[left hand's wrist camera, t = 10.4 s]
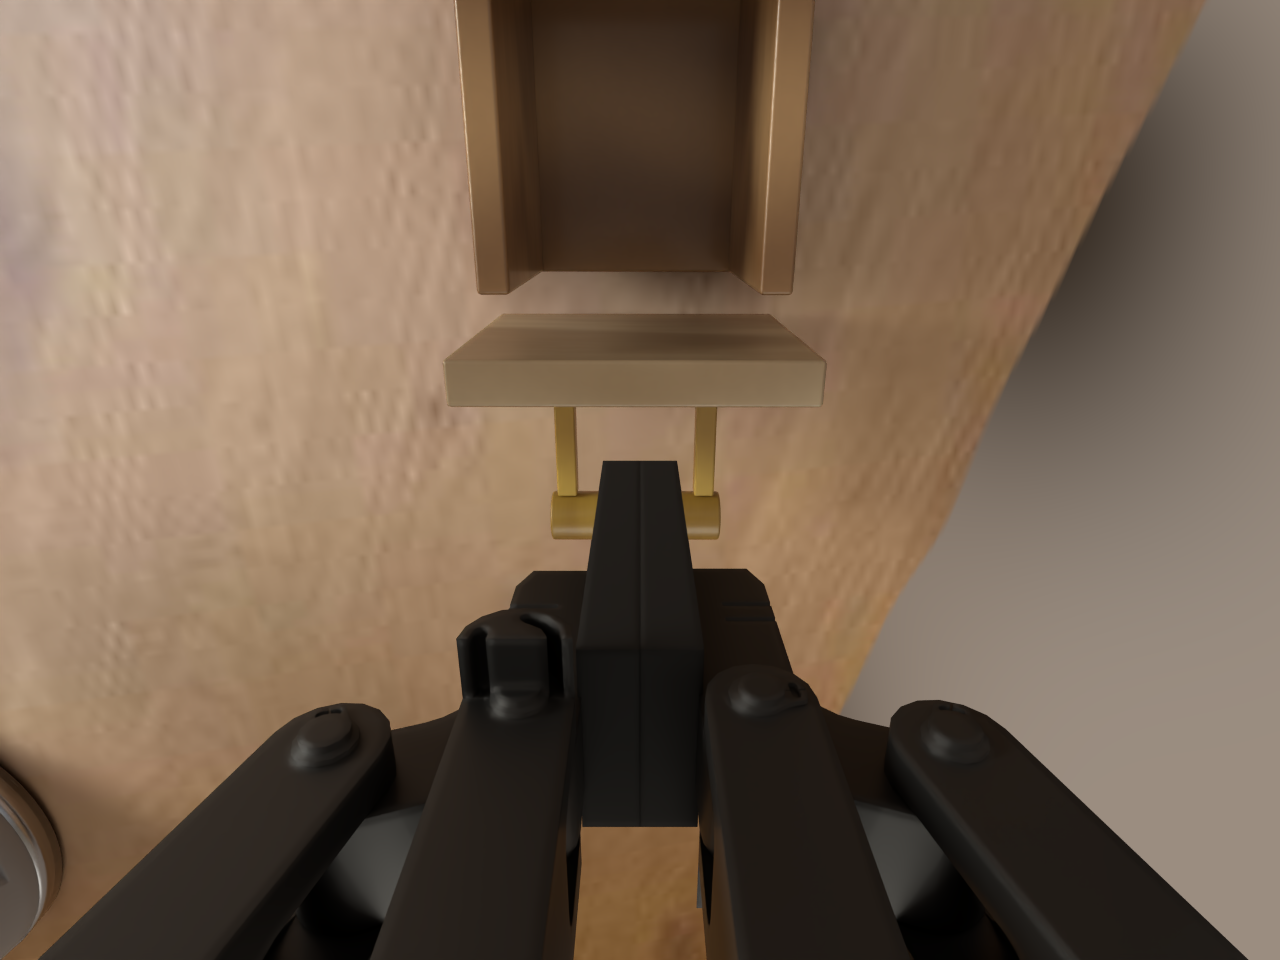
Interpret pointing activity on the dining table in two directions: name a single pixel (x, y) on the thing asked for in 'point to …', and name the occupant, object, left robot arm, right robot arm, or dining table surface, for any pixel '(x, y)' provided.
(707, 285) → the dining table surface
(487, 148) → the drawer
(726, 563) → the dining table surface
